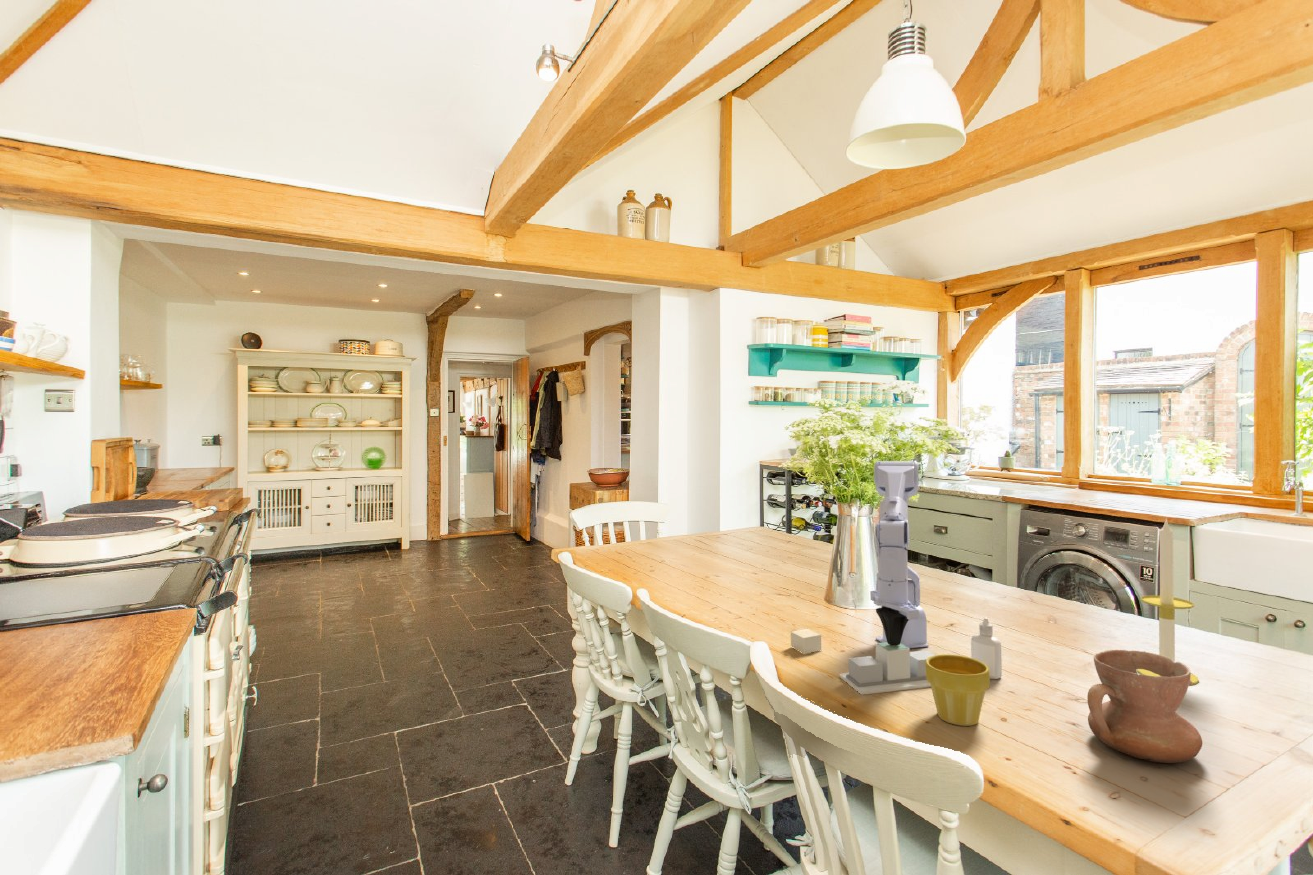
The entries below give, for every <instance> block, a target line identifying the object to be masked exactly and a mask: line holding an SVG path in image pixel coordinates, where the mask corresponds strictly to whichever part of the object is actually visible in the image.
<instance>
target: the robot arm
mask: <svg viewBox="0 0 1313 875" xmlns="http://www.w3.org/2000/svg"><path fill="white" fill-rule="evenodd" d="M873 464H874V466H873V478H874V479H873V480H874V485H875V490H876V491H877V494H878V495H880V496H883V497H885V498H883V499H882V501H881V502H880V504H879V512H878V522H875V524H874V525H875V526H874V542H875V547H876V557H877V574H876V583H875V590H871V591H870V601H873V604H874V605H876V606H881V607H877V608H875V612H876V614H877V616H878V617H879V619H880V623H881V624H882V635H881V636H875V639H876V640H877V641H878V642H879V643H884V642H888V644H890V645H900V643H901V644H903V645H904V646H906V647H908V648H909V649H914V648H924V647H929V645H930V644H929V643H928V641H927V640H928V634H927V631H928V630H927V615H926V613H925V610H924V609H923V608H922V607H921V606H920V605H921V582H920V575H919V573H918V572H917V571H916V570H914V569H913V568H912V567H910V566H909V565H908V564H909V563H908V562H909V561H908V549H909V548H910V542H911V541H910V538H911V537H910V535H911V534H910V525H909V518H908V517H909V516H908V514H909V508H908V507H909V506H908V503H909V500H910V498H912V497H914V496H917V495H918V491H919V484H920V483H919V482H920V480H919V479H920V478H919V462H918V461H917V460H905V461H904V460H881V461H880V460H876V461H875V462H874V463H873Z"/></svg>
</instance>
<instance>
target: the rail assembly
mask: <svg viewBox="0 0 1313 875" xmlns="http://www.w3.org/2000/svg"><path fill="white" fill-rule="evenodd" d="M934 655H935V654H934V653H932V652H930V651H928V650H926V649H925V650H915V651H910V678H907V679H898V680H886V679H885V678H884V677H883V674H882V663H880V662H879V661H877V660H876V658H875V657H873V656H872V655H867V656H857V657H848V672H844V673H839V674H838V675H839V676H838V677H839V678H841V680H842V681H844V682H845V683H846V682H847V683H848V684H847V683H846V684H847V685H848V686H850V687H851V688H852V687H853V688H854V691H856V692H857V691H858V692H857V693H858V694H859V693H860V696H864V695H872V694H880V693H888V692H891V693H892V692H897V691H905V690H915V689H925V688H931V684H930V683H929V682H928V681H927V679H926V659H927V658H929V657H931V656H934Z"/></svg>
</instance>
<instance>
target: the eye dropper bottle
mask: <svg viewBox="0 0 1313 875" xmlns="http://www.w3.org/2000/svg"><path fill="white" fill-rule="evenodd" d="M982 620H983V621H982V622H981V623H978V624H979V629H978V630H979V631H978V632H979V633H976V634H974V635H972V636H971V639H970V640H971V641H970V642H971V643H970V645H971V646H970V648H971V649H970V650H971V653H970V654H971V655H970V656H971V657H970V658H973V659H976V660H979V661H981V662H983V663H984V664H986V665H987V666H988V668H989V673H990V680H998V679H1001V678H1002V676H1003V675H1002V674H1003V673H1002V672H1003V671H1002V670H1003V669H1002V667H1003V666H1002V665H1003V664H1002V662H1003V661H1002V659H1003V658H1002V642H1001V640H999V639H998V638H997V637H995V636H993V630H994V629H993V624H991V623H990V622H989V619H988V617H983V619H982Z"/></svg>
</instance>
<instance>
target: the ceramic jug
mask: <svg viewBox="0 0 1313 875" xmlns="http://www.w3.org/2000/svg"><path fill="white" fill-rule="evenodd" d="M1093 662H1094V663H1093V664H1094V667H1095V670H1096V673H1097V676H1098V678H1099V681H1100V683H1095V684H1093V685H1092V686H1090V688H1089V689H1088V692H1087V705H1088V708H1089V709H1088V710H1089V713H1088V716H1087V722H1088V723H1087V724H1088V726H1089V728H1090V730H1091V733H1092V734H1094V736H1095V737H1096V738H1098V740H1100V741H1101V742H1102V743H1103V744H1105V745H1106V746H1107V747H1108V746H1109V747H1110V748H1112V749H1114V750H1116V751H1118V752H1121V753H1123V754H1126V755H1128V756H1131V757H1133V758H1136V759H1141V760H1144V761H1149V762H1154V763H1155V762H1156V763H1163V764H1174V763H1176V764H1177V763H1183V762H1187V761H1190V760H1192V759H1194V758H1195V757H1196V756H1197V755H1198V754H1199V753H1200V751H1201V749H1202V747H1203V738H1202V736H1201V734H1200V732H1199V731H1198V729H1197V728H1196V727H1195V726H1194V725H1193V723H1191V722H1189V721H1188V720H1187V719H1186V718H1184V717H1182V715H1180V714H1179V713H1177V712H1176V711H1177V710H1178V708H1179V707H1180V706H1181V703H1182V702H1183V700H1184V698H1185V696H1186V694H1187V692H1188V689H1189V686H1192V685H1191V684H1192V681H1191V679H1190V676H1191V670H1190V667H1188V665H1186V664H1184V663H1183V662H1181V661H1175V662H1174V661H1173V660H1172V659H1171V658H1169V657H1166V656H1162V655H1159V653H1158V654H1157V653H1153V652H1149V651H1141V650H1127V649H1110V650H1105V651H1100V652H1098V653H1095V654H1094V655H1093ZM1137 669H1144V670H1148V671H1151V672H1153V673H1155V674H1158V675H1160V676H1161V677H1157V676H1149V675H1141V674H1140V673H1138V672H1137ZM1106 695H1107V696H1108V698H1109V700H1108V701H1106V702H1103V699H1104V697H1105V696H1106Z"/></svg>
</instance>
